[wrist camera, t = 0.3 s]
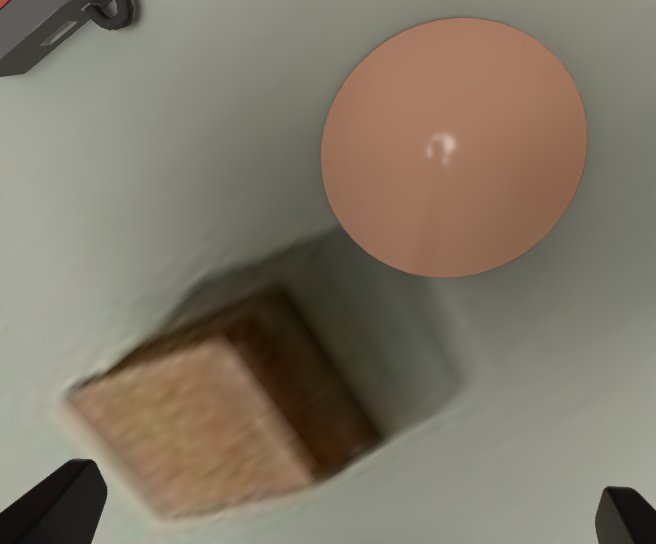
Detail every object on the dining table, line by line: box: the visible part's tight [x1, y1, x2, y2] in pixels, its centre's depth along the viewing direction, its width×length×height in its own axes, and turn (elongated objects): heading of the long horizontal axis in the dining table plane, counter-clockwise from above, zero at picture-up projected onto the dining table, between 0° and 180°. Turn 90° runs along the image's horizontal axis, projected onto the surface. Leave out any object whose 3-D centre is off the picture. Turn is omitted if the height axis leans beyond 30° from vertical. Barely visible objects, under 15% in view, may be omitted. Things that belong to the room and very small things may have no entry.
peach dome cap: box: [321, 18, 587, 278], centre depth 20 cm, size 10×10×1 cm
